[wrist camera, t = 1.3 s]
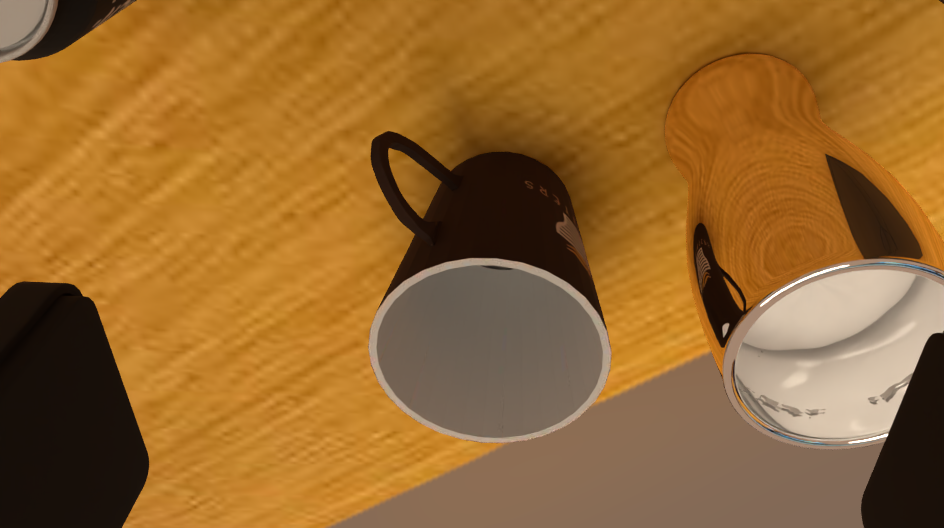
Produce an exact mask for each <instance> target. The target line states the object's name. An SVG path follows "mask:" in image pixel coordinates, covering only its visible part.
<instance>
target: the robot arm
mask: <svg viewBox="0 0 944 528" xmlns="http://www.w3.org/2000/svg"><path fill="white" fill-rule="evenodd" d="M148 470H149V457H148V453H147V450H146V447H145V444H144V441H143V438H142V436H141V433H140V430H139V427H138V424H137V421H136V419H135V416H134V413H133V410H132V407H131V404H130V402H129V399H128V396H127V393H126V390H125V387H124V385H123V382H122V379H121V376H120V373H119V370H118V368H117V365H116V362H115V359H114V356H113V354H112V351H111V348H110V345H109V342H108V339H107V337H106V334H105V331H104V328H103V325H102V322H101V320H100V317H99V314H98V311H97V308H96V306H95V304H94V302H93V301H92V300H91V299H90V298H88V297H83V296H82V294H81V292H80V290H79V289H78V288H77V287H76V286H75V285H72V284H68V283H46V282H20V283H16V284H15V285H13V286H12V287H11V288H9V289H8V290H7V292H6V293H5V294H4V295H3V296H2V297H1V298H0V528H122V526H123V524H124V522H125V521H126V519H127V517H128V515H129V513H130V511H131V509H132V507H133V505H134V504H135V502H136V500H137V498H138V496H139V494H140V492H141V490H142V489H143V487H144V484H145V482H146V479H147V475H148ZM861 513H862V521H863V525H864V528H944V331H943V333H934V334H932V335H931V336H930V337H929V338H928V340H927V342H926V343H925V346H924V348H923V351H922V353H921V355H920V358H919V360H918V363H917V365H916V368H915V370H914V372H913V375H912V377H911V380H910V382H909V385H908V387H907V389H906V392H905V394H904V397H903V399H902V402H901V404H900V406H899V409H898V411H897V414H896V416H895V419H894V421H893V423H892V426H891V428H890V431H889V433H888V436H887V438H886V440H885V443H884V446H883V448H882V450H881V453H880V455H879V457H878V460H877V462H876V465H875V467H874V470H873V472H872V474H871V477H870V479H869V482H868V484H867V486H866V489H865V491H864V494H863V498H862V504H861Z"/></svg>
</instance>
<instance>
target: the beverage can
mask: <svg viewBox="0 0 944 528" xmlns="http://www.w3.org/2000/svg"><path fill="white" fill-rule="evenodd" d="M135 1H136V0H0V63H1V62H6V61H10V60H18V61H20V60H31V59H38V58H42V57H46V56H49V55H52V54H55V53H57V52H59V51H61V50H63V49H65V48H66V47H68V46H69V45H71V44H72V43H74V42H75V41H77V40H78V39H80V38H81V37H83V36H84V35H86V34H87V33H89V32H90V31H92V30H93V29H95V28H96V27H98V26H99V25H101V24H102V23H104V22H105V21H106V20H108V19H109V18H111V17H112V16H114V15H115V14H117V13H118V12H120V11H121V10H123V9H124V8H126V7H127V6H129V5H130V4H132V3H133V2H135Z"/></svg>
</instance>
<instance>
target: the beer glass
mask: <svg viewBox="0 0 944 528" xmlns="http://www.w3.org/2000/svg"><path fill="white" fill-rule="evenodd" d="M665 142H666V147H667V150H668V153H669V155H670V158H671V160H672V162H673V163H674V165H675V166H676V168H677V169H678V171H679V172H680V173H681V175H682V176H683V177H684V178H685V180H686V181H687V182H688V204H687V221H686V250H687V267H688V273H689V278H690V283H691V288H692V293H693V298H694V302H695V305H696V308H697V312H698V315H699V318H700V321H701V325H702V328H703V331H704V333H705V336H706V339H707V341H708V344H709V347H710V349H711V352H712V354H713V357H714V359H715V362H716V364H717V367H718V369H719V371H720V374H721V376H722V379H723V384H724V388H725V391H726V394H727V396H728V399H729V400H730V402H731V404H732V406H733V407H734V409H735V410H736V411H737V413H738V414H739V415H740V416H741V417H742V418H743V419H744V420H745V421H746V422H747V423H748V424H750V425H751V426H752V427H754V428H755V429H756V430H758V431H760V432H761V433H763V434H765V435H767V436H769V437H771V438H773V439H776V440H779V441H781V442H784V443H787V444H791V445H795V446H799V447H805V448H812V449H825V450H826V449H828V450H836V449H837V450H838V449H852V448H860V447H866V446H870V445H875V444H879V443H883V442H885V440H886V438H887V436H888V433H889V431H890V428H891V426H892V423H893V421H894V419H895V416H896V414H897V411H898V409H899V406H900V404H901V402H902V399H903V397H904V394H905V392H906V389H907V387H908V385H909V382H910V380H911V377H912V375H913V372H914V370H915V368H916V365H917V363H918V360H919V358H920V355H921V353H922V351H923V348H924V346H925V343H926V342H927V340H928V338H929V337H930V336H931V335H932V334H934V333H943V331H944V242H943V240H942V238H941V236H940V235H939V233H938V232H937V230H936V229H935V228H934V226H933V225H932V223H931V222H930V220H929V219H928V217H927V216H926V214H925V213H924V211H923V210H922V209H921V207H920V206H919V205H918V203H917V202H916V201H915V200H914V199H913V198H912V196H911V195H910V194H909V193H908V192H907V191H906V190H905V188H904V187H903V186H902V185H901V184H900V183H899V181H898V180H897V179H896V178H895V177H894V176H893V175H892V174H890V173H889V172H888V171H887V170H886V169H885V168H883V167H882V166H881V165H880V164H879V163H877V162H876V161H875V160H874V159H873V158H872V157H870V156H869V155H868V154H867V153H865V152H864V151H862V150H861V149H860V148H858V147H857V146H855V145H854V144H853V143H851V142H850V141H848V140H847V139H845V138H844V137H842V136H841V135H839V134H838V133H837V132H835V131H834V130H832V129H831V128H829V127H828V126H827V125H825V124H824V123H823V122H822V121H821V117H820V112H819V107H818V103H817V99H816V96H815V93H814V91H813V89H812V87H811V85H810V84H809V82H808V80H807V79H806V78H805V76H804V75H803V74H802V73H801V72H800V71H799V70H798V69H796V68H795V67H794V66H792V65H791V64H789V63H787V62H785V61H783V60H781V59H779V58H776V57H773V56H769V55H764V54H739V55H734V56H729V57H726V58H723V59H720V60H718V61H715V62H713V63H711V64H709V65H707V66H705V67H704V68H702V69H701V70H699V71H698V72H697V73H695V74H694V75H693V76H692V77H691V78H689V79H688V80H687V81H686V82H685V84H684V85H683V86H682V87H681V88H680V90H679V91H678V92H677V94H676V96H675V97H674V99H673V101H672V103H671V105H670V108H669V110H668V113H667V117H666V122H665Z"/></svg>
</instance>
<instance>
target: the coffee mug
mask: <svg viewBox="0 0 944 528" xmlns="http://www.w3.org/2000/svg"><path fill="white" fill-rule="evenodd" d="M389 148H392V149H394V150H398V151H401V152H403V153H405V154H407V155H408V156H409V157H411V158H412V159H413V160H415V161H416V162H417V163H419V164H420V165H421V166H423V167H424V168H425V169H426V170H428V171H429V172H430V173H431V174H433V175H434V176H435V177H436V178H438V179H439V180H440V181H442V183H441V185H440V186H439V188H438V190H437V192H436V194H435V196H434V198H433V200H432V202H431V204H430V206H429V208H428V210H427V212H426V214H425V216H424V218H423V219H422V218H421V217H419V216H418V215H417V213H416V212H415V211H414V210H413V209H412V208H411V207H410V205H409V204H408V203H407V202H406V200H405V199H404V197H403V196H402V194H401V192H400V191H399V188H398V186H397V184H396V182H395V179H394V177H393V174H392V172H391V168H390V165H389V159H388V149H389ZM371 163H372V167H373V170H374V173H375V176H376V179H377V181H378V184H379V186H380V188H381V190H382V192H383V194H384V196H385V198H386V200H387V201H388V203H389V205H390V206H391V208H392V210H393V212H394V213H395V215H396V216H397V217H398V219H399V220H400V221H401V222H402V223H403V224H404V225H405V226H406V227H407V228H409V229H410V230H411V231H412V232H413V233H414V234H415V236H414V238H413V240H412V242H411V244H410V246H409V248H408V250H407V252H406V254H405V256H404V258H403V260H402V262H401V264H400V266H399V268H398V270H397V272H396V274H395V276H394V278H393V280H392V282H391V284H390V286H389V288H388V290H387V292H386V294H385V296H384V298H383V300H382V302H381V304H380V306H379V308H378V310H377V312H376V315H375V318H374V320H373V323H372V326H371V328H370V336H369V346H368V348H369V354H370V360H371V366H372V368H373V371H374V373H375V375H376V378H377V380H378V382H379V384H380V385H381V387H382V388H383V390H384V391H385V392H386V394H387V395H388V397H389V398H390V399H391V400H392V401H393V402H394V403H395V404H396V405H397V406H398V407H399V408H400V409H401V410H402V411H403V412H405V413H406V414H408V415H409V416H410V417H412V418H413V419H415V420H416V421H418V422H419V423H421V424H423V425H425V426H427V427H429V428H431V429H433V430H435V431H438V432H440V433H443V434H446V435H449V436H452V437H456V438H459V439H464V440H470V441H476V442H482V443H509V442H518V441H526V440H529V439H533V438H537V437H541V436H545V435H547V434H550V433H552V432H554V431H556V430H559V429H561V428H563V427H565V426H566V425H568V424H570V423H571V422H573V421H574V420H576V419H577V418H578V417H580V416H581V415H582V414H583V413H584V412H585V411H586V410H587V409H588V408H589V407H590V406H591V405H592V404H593V403H594V402H595V401H596V399H597V398H598V396H599V394H600V393H601V391H602V390H603V388H604V386H605V383H606V380H607V377H608V375H609V372H610V364H611V347H610V342H609V337H608V332H607V328H606V325H605V321H604V318H603V314H602V311H601V307H600V303H599V300H598V296H597V293H596V289H595V285H594V282H593V278H592V275H591V271H590V268H589V264H588V260H587V257H586V253H585V250H584V246H583V242H582V239H581V235H580V232H579V228H578V225H577V221H576V217H575V214H574V210H573V207H572V203H571V199H570V196H569V194H568V192H567V190H566V187H565V185H564V184H563V183H562V181H561V180H560V179H559V177H558V176H557V175H556V174H555V173H554V172H553V171H552V170H551V169H549V168H548V167H547V166H546V165H544V164H542V163H540V162H539V161H537V160H535V159H533V158H530V157H527V156H525V155H522V154H516V153H510V152H492V153H487V154H481V155H478V156H475V157H473V158H470V159H468V160H466V161H464V162H463V163H461V164H460V165H458V166H456V167H455V168H454V169H453V170H452V171H450V170H448V169H447V168H446V167H444V166H443V165H442V164H441V163H440V162H439V161H437V160H436V159H435V158H434V157H433V156H431V155H430V154H429V153H428V152H426V151H425V150H424V149H423V148H421V147H420V146H419V145H417V144H416V143H415V142H413V141H411V140H410V139H408V138H406V137H404V136H402V135H400V134H398V133H394V132H390V131H387V132H385V133H383V134H381V135H379V136H377V137H376V138H374V139H373V141H372V146H371Z"/></svg>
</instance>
